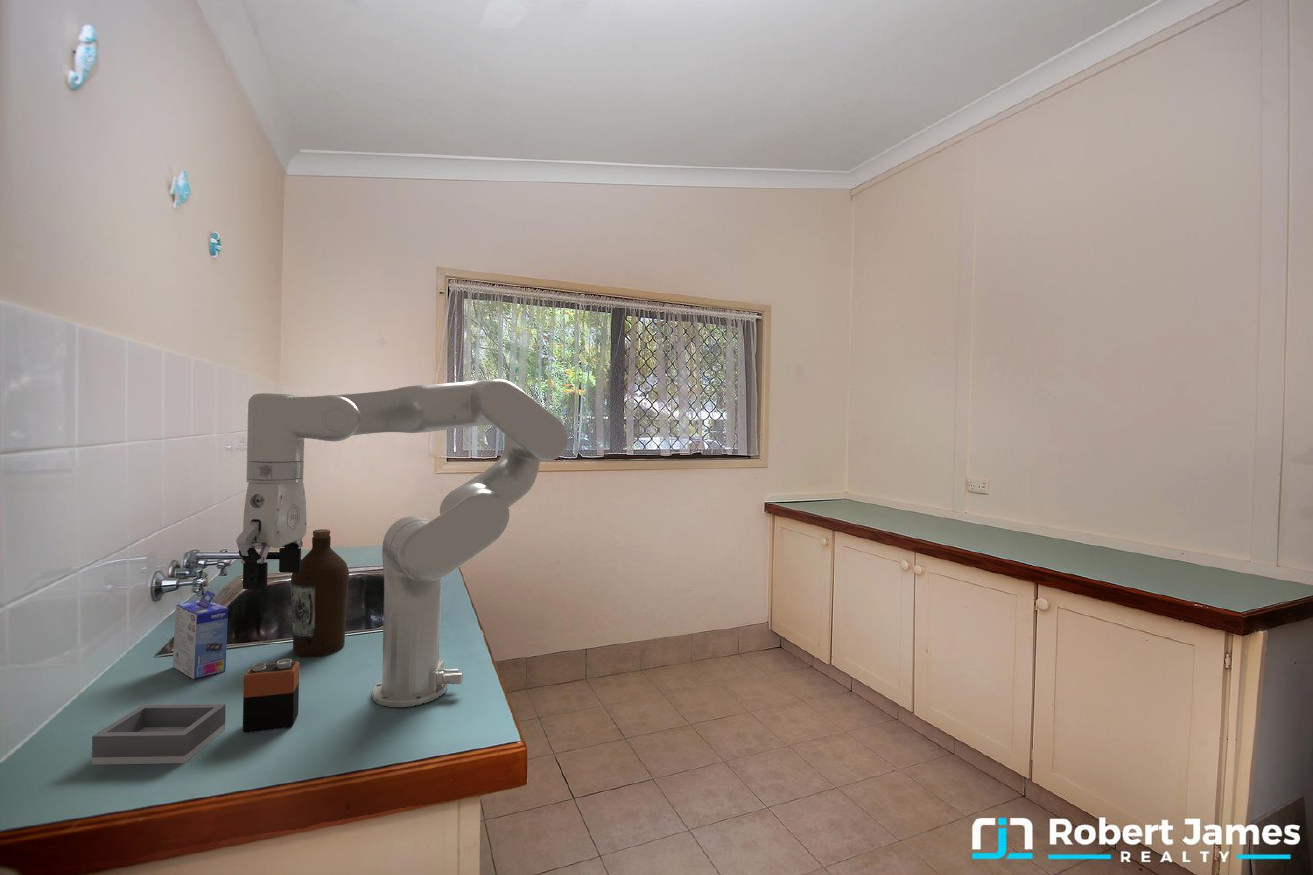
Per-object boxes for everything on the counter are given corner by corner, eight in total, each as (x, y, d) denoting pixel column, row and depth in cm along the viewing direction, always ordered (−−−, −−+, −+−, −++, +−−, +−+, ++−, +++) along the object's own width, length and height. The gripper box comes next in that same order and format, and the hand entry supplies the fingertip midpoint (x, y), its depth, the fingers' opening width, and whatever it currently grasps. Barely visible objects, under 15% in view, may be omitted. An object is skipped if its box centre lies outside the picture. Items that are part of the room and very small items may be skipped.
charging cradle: (225, 729, 92) (225, 704, 92) (184, 763, 83) (184, 735, 83) (142, 730, 91) (142, 704, 91) (91, 764, 82) (92, 736, 82)
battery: (292, 728, 93) (293, 665, 93) (241, 734, 91) (242, 670, 90) (298, 714, 97) (300, 654, 97) (250, 720, 95) (251, 659, 94)
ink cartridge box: (228, 670, 112) (230, 595, 112) (194, 681, 108) (195, 602, 107) (205, 658, 117) (207, 586, 117) (171, 667, 113) (172, 592, 112)
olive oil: (324, 636, 131) (327, 524, 130) (358, 644, 127) (361, 529, 126) (277, 652, 121) (279, 531, 121) (312, 662, 117) (315, 537, 116)
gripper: (269, 478, 84) (267, 596, 85) (326, 468, 102) (324, 566, 102) (214, 476, 84) (211, 596, 84) (280, 467, 101) (278, 566, 101)
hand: (273, 580), depth 93 cm, fingers open, 9 cm apart
